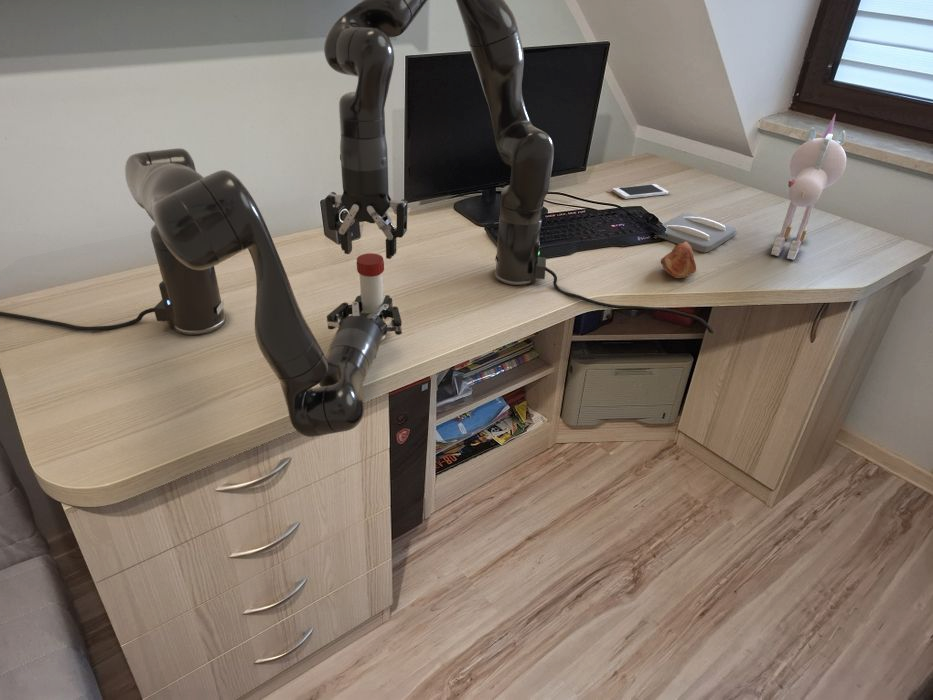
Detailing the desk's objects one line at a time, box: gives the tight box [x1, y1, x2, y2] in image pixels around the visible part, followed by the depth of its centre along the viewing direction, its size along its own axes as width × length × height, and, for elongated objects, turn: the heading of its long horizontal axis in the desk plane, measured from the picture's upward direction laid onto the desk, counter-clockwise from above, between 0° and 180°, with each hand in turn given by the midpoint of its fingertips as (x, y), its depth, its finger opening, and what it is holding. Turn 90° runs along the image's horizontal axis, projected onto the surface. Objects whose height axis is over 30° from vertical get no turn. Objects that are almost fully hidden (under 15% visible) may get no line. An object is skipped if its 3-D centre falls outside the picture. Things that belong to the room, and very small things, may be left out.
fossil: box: [660, 241, 697, 279], centre depth 147 cm, size 13×8×10 cm
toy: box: [770, 112, 847, 261], centre depth 159 cm, size 12×36×30 cm, turn 148°
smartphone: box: [611, 183, 669, 200], centre depth 193 cm, size 7×15×1 cm, turn 111°
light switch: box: [654, 212, 737, 253], centre depth 167 cm, size 18×3×15 cm
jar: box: [359, 273, 386, 341], centre depth 118 cm, size 4×4×16 cm
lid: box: [356, 252, 385, 276], centre depth 114 cm, size 5×5×2 cm
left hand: (375, 298), depth 121 cm, fingers closed on jar, 4 cm apart
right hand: (368, 254), depth 113 cm, fingers open, 7 cm apart
